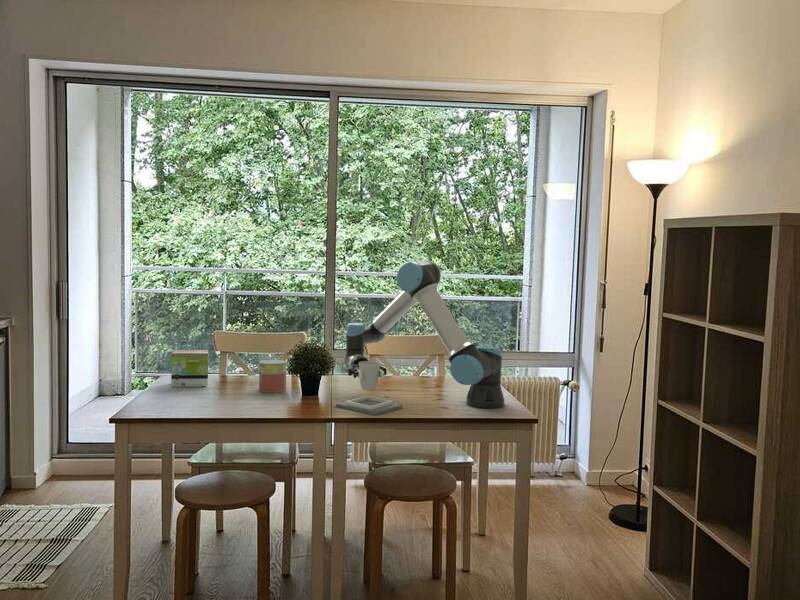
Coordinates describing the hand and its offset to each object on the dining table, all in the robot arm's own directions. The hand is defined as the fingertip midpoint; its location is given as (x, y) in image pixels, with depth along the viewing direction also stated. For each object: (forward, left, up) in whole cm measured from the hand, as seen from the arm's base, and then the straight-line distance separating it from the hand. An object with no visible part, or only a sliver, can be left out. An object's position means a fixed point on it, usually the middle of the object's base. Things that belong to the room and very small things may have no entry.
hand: (372, 375), depth 280 cm
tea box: (+86, +19, -13) cm, 89 cm away
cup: (+4, -3, -6) cm, 8 cm away
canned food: (+54, +1, -13) cm, 55 cm away
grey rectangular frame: (+4, -3, -13) cm, 14 cm away
